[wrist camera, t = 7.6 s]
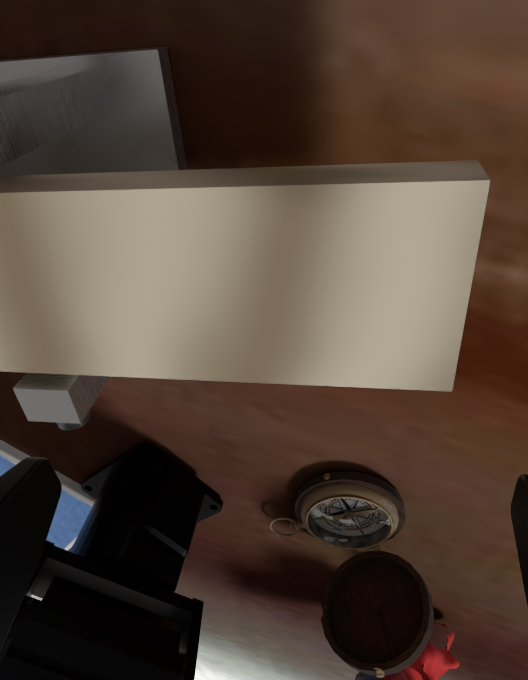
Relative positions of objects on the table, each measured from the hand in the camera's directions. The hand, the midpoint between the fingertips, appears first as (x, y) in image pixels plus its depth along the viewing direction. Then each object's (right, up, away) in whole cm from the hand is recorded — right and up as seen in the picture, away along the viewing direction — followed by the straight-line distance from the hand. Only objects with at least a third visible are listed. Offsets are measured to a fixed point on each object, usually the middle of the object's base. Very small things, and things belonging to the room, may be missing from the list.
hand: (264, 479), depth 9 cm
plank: (-8, +4, +6) cm, 11 cm away
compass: (+4, -7, +20) cm, 22 cm away
